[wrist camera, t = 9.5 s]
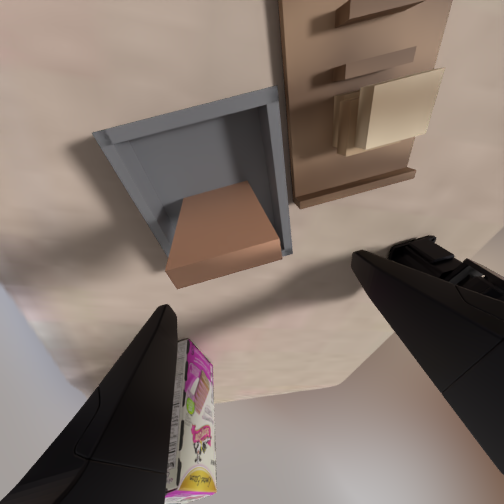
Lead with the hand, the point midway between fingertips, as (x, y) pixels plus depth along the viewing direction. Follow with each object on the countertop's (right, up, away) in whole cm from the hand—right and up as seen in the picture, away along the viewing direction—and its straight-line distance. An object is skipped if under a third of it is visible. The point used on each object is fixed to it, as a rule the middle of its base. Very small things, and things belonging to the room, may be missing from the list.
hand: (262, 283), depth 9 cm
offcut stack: (+8, +14, +8) cm, 18 cm away
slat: (-4, +7, +9) cm, 12 cm away
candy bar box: (-12, -17, +26) cm, 33 cm away
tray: (-4, +7, +10) cm, 13 cm away
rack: (+8, +15, +7) cm, 18 cm away
